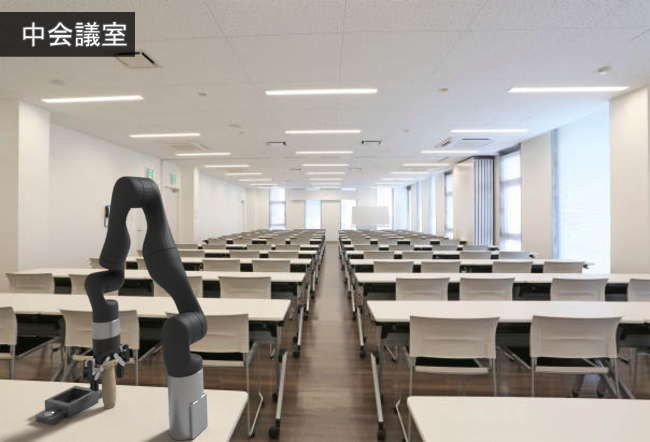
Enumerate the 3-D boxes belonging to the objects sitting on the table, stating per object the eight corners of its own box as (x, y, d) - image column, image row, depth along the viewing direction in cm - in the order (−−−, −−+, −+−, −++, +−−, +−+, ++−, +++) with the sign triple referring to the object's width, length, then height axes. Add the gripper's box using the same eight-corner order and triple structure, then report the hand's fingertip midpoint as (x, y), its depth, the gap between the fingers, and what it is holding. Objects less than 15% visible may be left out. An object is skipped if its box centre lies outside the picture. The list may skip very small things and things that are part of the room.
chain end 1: (95, 404, 111) (94, 392, 111) (56, 426, 100) (55, 413, 99) (72, 399, 114) (71, 387, 114) (32, 420, 103) (31, 407, 103)
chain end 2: (108, 396, 115) (108, 384, 115) (72, 417, 104) (72, 404, 104) (86, 391, 119) (85, 380, 119) (49, 411, 108) (48, 398, 107)
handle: (123, 401, 112) (121, 356, 112) (109, 412, 106) (107, 365, 105) (110, 400, 113) (108, 355, 112) (95, 412, 106) (92, 364, 106)
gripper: (93, 343, 101) (95, 397, 101) (134, 327, 114) (136, 375, 115) (75, 340, 103) (77, 393, 104) (117, 324, 116) (119, 371, 117)
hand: (108, 383), depth 109 cm, fingers open, 8 cm apart
